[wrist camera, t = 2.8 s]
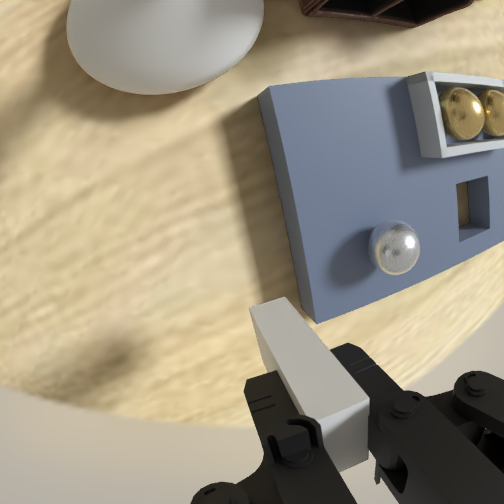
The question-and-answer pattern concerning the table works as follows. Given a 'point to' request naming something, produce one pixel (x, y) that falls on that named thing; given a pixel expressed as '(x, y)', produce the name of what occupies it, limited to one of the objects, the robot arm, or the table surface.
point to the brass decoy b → (493, 112)
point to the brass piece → (461, 113)
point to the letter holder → (384, 10)
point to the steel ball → (393, 247)
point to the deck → (377, 181)
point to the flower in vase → (161, 41)
